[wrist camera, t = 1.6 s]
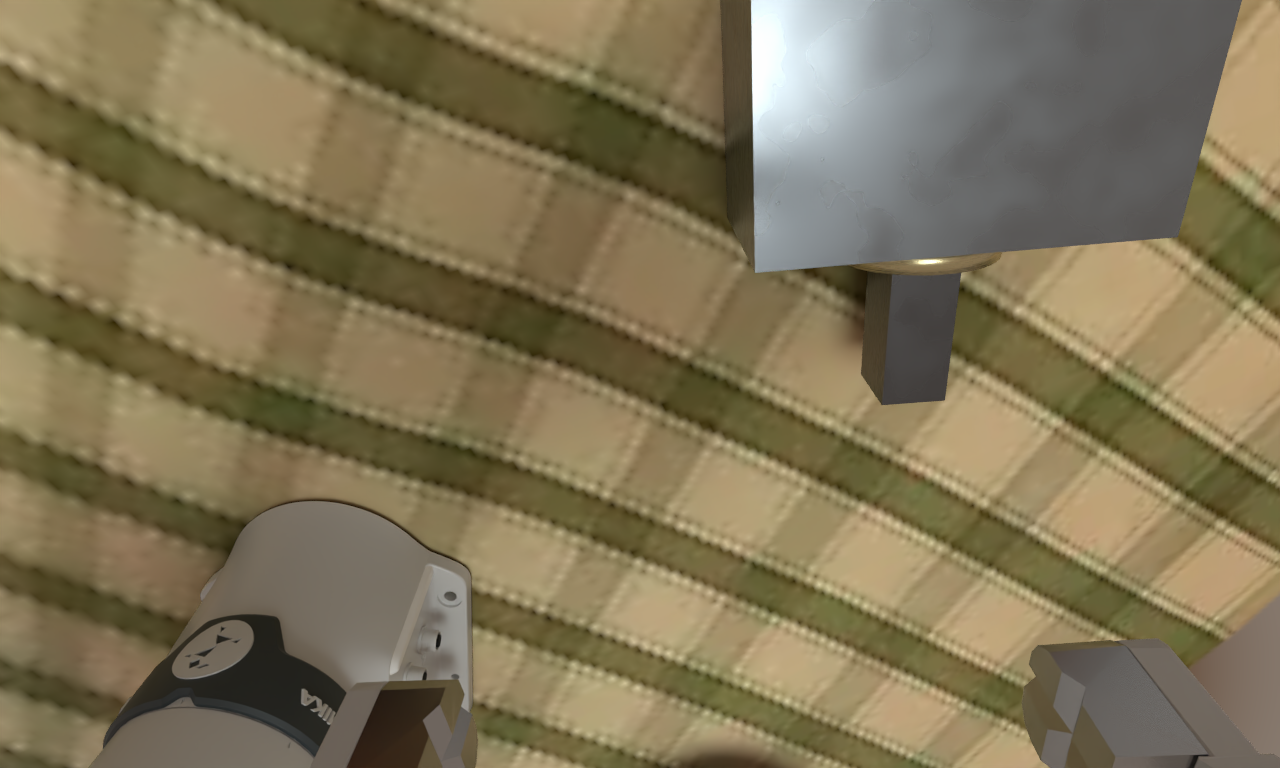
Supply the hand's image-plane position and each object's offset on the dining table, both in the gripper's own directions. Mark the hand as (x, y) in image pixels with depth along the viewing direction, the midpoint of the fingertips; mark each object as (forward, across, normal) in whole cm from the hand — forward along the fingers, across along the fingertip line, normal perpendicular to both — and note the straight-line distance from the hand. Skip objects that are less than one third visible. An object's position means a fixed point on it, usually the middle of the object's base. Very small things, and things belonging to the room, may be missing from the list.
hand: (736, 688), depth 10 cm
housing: (+29, -10, -4) cm, 31 cm away
